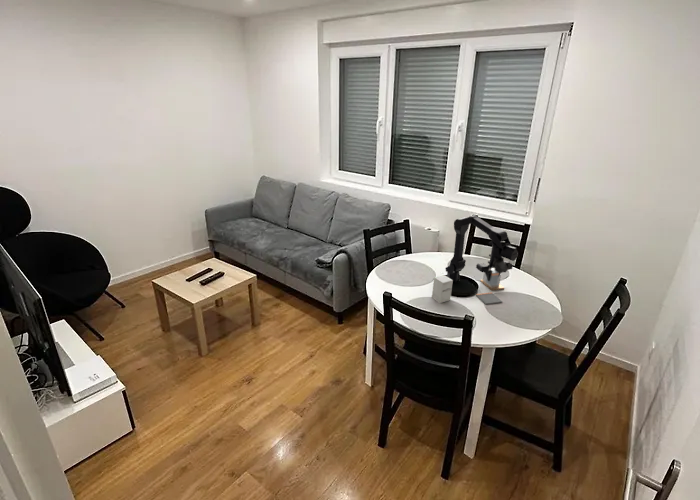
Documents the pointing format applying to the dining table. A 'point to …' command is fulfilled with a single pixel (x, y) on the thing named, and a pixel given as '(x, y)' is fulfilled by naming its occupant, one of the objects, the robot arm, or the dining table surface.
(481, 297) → the pad
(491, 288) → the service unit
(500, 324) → the dining table surface
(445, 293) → the supplement box
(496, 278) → the cartridge
